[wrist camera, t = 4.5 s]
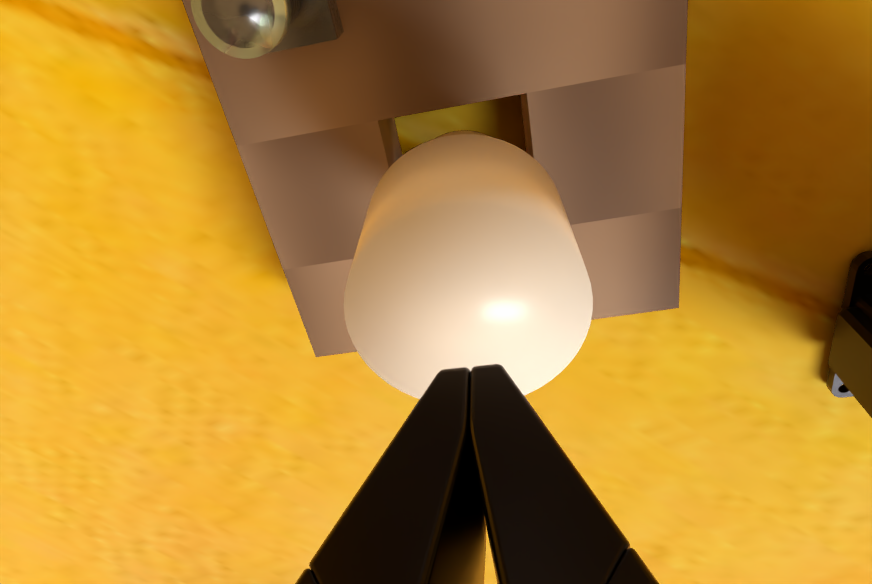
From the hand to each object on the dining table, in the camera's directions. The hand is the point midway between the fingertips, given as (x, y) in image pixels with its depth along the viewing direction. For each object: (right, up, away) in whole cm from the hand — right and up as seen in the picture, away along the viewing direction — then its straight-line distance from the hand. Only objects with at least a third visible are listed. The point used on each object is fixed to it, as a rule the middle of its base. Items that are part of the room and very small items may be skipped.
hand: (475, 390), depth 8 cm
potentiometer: (-4, +9, +6) cm, 11 cm away
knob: (0, +4, +9) cm, 10 cm away
